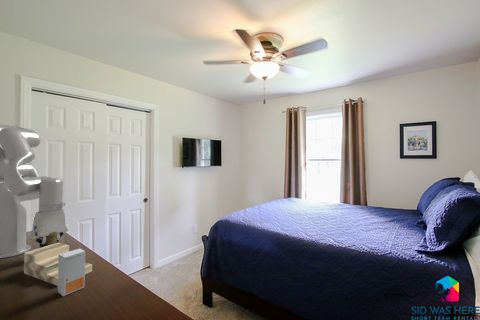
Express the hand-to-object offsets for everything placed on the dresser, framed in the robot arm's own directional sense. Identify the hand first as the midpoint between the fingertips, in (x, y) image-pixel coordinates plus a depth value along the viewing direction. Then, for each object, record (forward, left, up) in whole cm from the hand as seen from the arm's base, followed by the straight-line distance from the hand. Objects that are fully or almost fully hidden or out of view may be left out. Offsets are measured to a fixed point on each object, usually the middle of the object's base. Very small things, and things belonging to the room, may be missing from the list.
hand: (49, 250), depth 95 cm
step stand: (+18, -6, -3) cm, 19 cm away
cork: (0, 0, -2) cm, 3 cm away
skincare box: (+34, -11, -3) cm, 36 cm away
